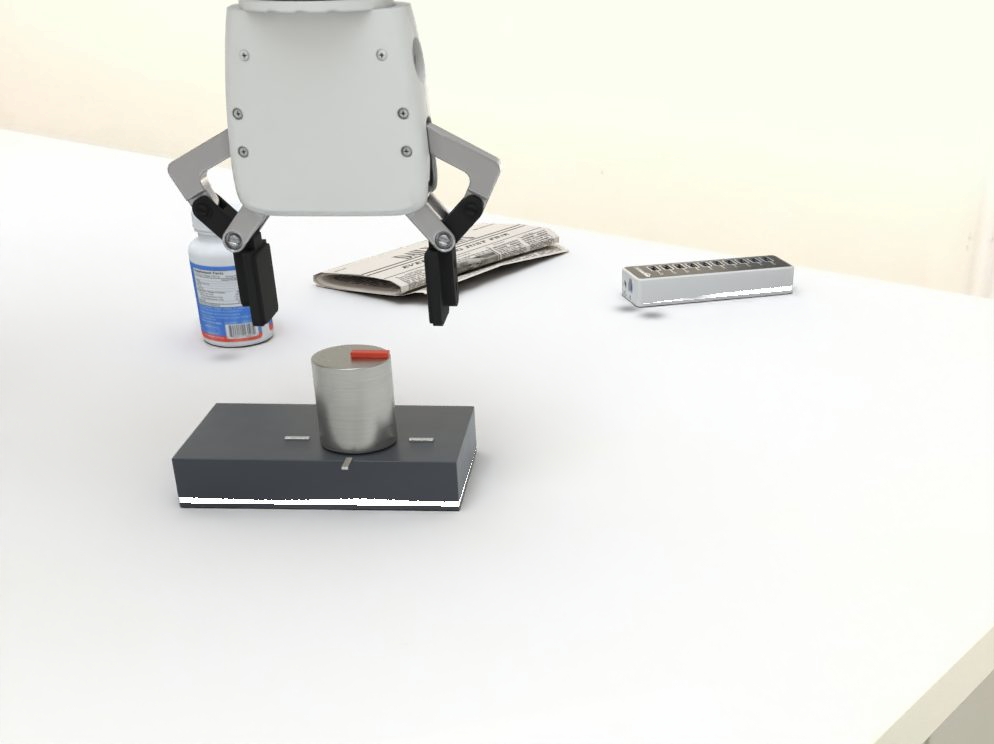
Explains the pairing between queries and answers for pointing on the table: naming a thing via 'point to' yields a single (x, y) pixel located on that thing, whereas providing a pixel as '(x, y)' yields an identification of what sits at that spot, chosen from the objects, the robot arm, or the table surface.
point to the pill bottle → (220, 292)
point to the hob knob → (354, 398)
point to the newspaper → (473, 253)
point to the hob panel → (323, 458)
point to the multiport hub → (704, 279)
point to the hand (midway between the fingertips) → (353, 319)
